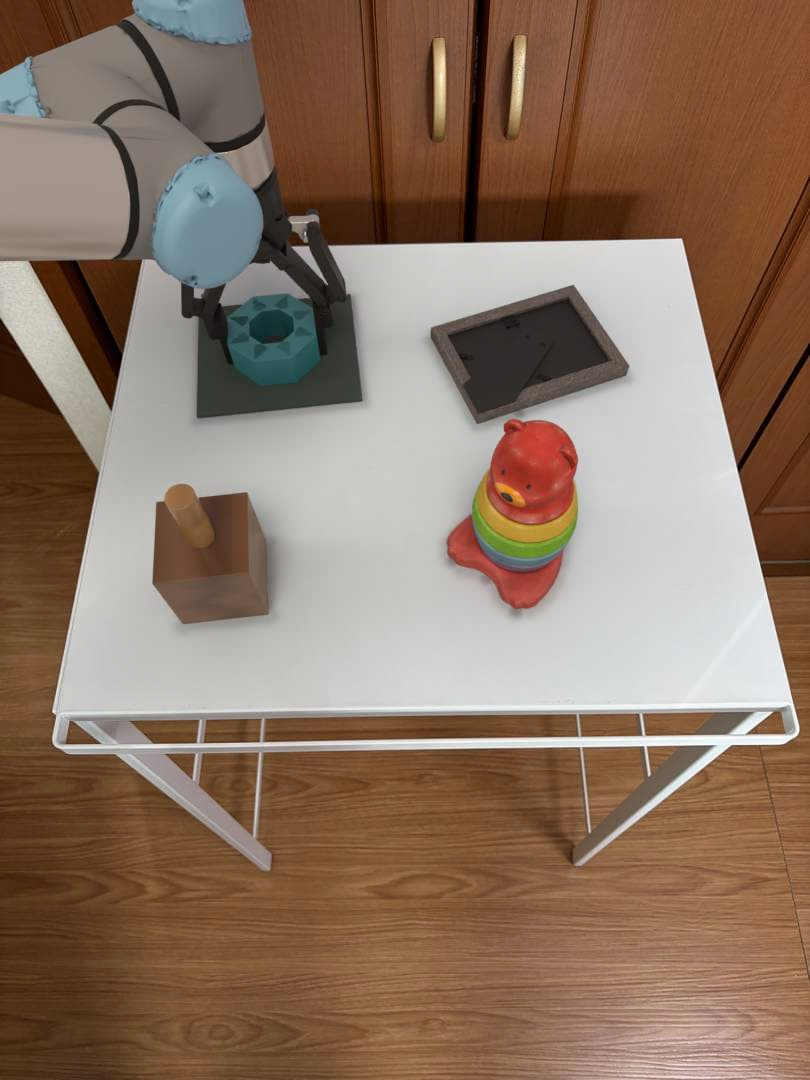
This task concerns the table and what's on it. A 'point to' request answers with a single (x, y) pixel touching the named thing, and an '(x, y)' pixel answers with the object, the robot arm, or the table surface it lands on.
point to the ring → (273, 358)
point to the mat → (320, 386)
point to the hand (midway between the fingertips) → (277, 350)
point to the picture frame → (527, 353)
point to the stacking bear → (522, 512)
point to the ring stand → (209, 556)
